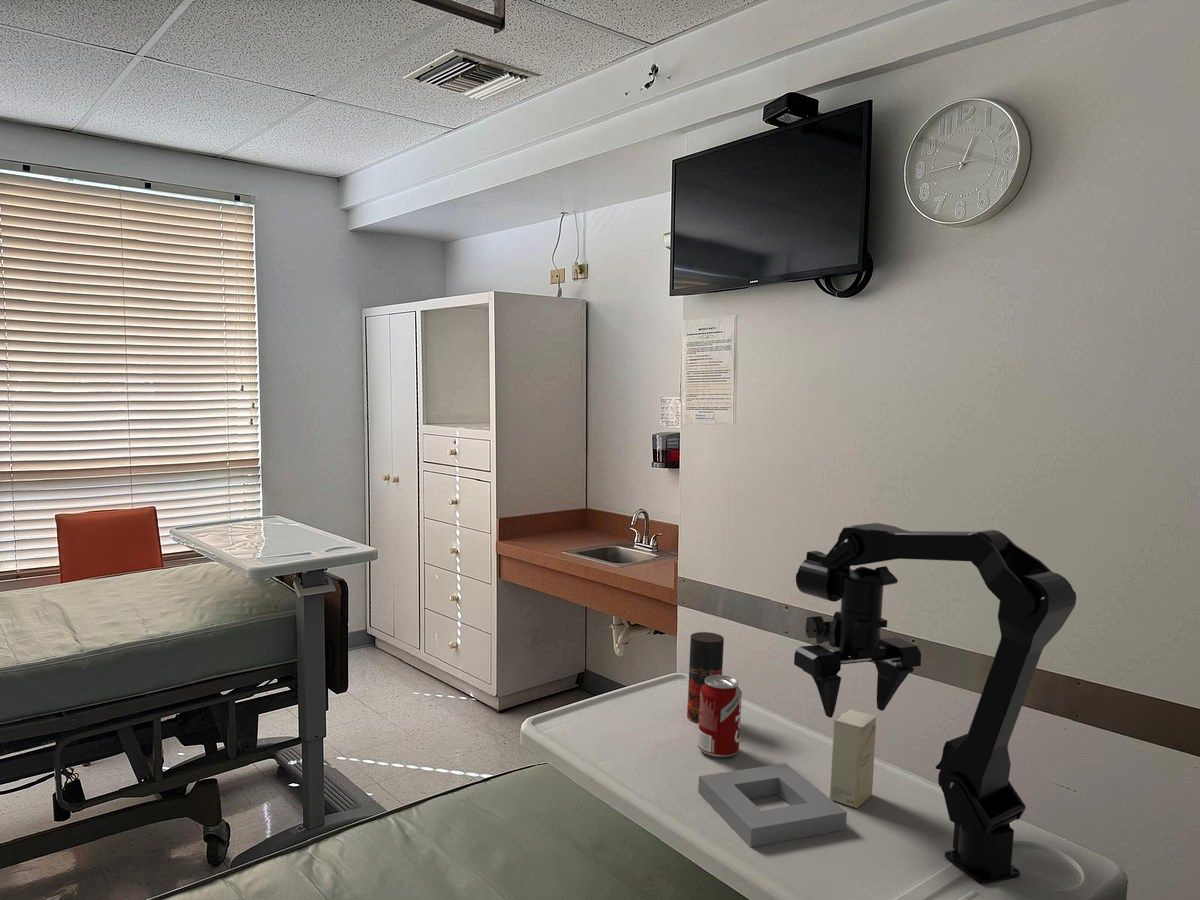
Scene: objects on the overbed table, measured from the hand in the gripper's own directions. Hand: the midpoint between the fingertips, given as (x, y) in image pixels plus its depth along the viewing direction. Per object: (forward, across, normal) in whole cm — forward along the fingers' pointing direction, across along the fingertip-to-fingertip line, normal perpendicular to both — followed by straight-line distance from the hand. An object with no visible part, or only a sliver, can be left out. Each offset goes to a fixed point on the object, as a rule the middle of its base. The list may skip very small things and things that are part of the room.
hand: (855, 713), depth 121 cm
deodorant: (+13, +8, -32) cm, 35 cm away
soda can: (+13, +12, -19) cm, 26 cm away
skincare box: (+13, 0, 0) cm, 13 cm away
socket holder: (+13, +14, 0) cm, 19 cm away
